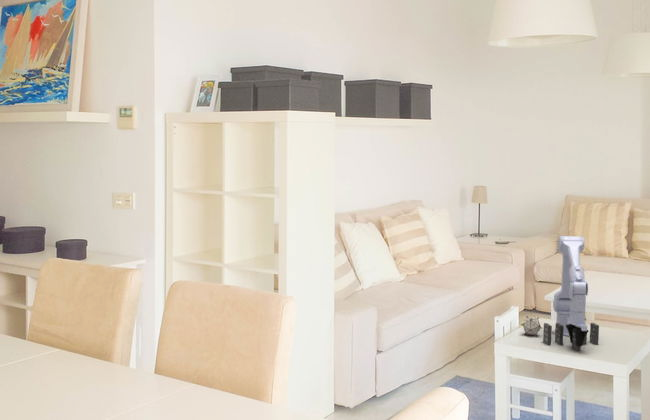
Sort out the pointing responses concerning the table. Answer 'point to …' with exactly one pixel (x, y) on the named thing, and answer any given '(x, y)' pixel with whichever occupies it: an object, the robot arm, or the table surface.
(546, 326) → the domino
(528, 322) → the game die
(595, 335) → the domino
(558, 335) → the domino
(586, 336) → the domino
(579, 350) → the domino
